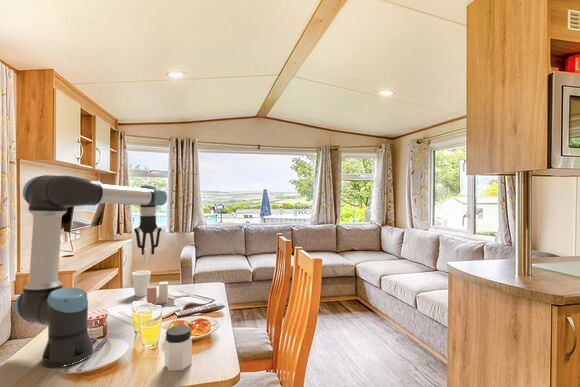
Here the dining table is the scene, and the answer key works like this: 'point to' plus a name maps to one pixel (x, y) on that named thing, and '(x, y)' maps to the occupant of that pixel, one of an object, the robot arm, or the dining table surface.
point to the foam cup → (141, 282)
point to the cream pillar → (163, 292)
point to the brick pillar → (152, 294)
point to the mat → (170, 301)
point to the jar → (178, 348)
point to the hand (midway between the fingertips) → (148, 260)
